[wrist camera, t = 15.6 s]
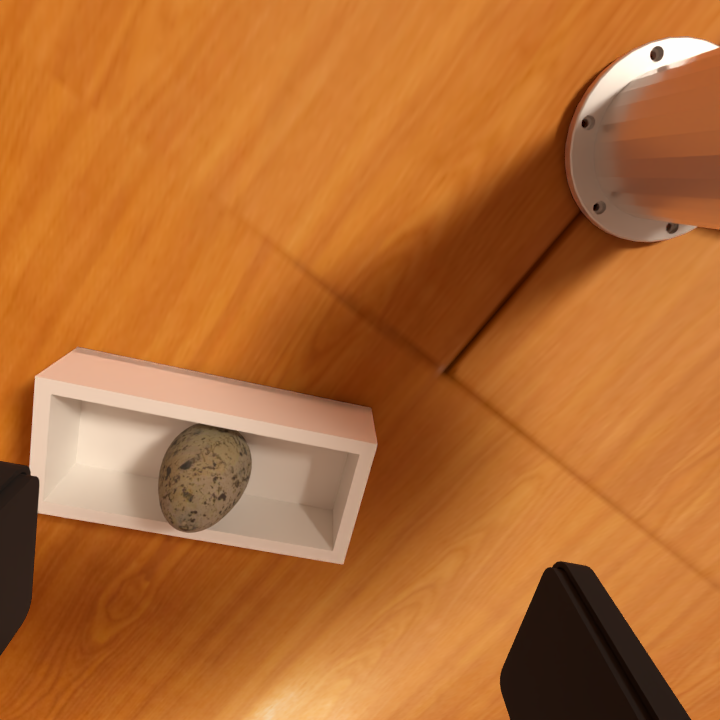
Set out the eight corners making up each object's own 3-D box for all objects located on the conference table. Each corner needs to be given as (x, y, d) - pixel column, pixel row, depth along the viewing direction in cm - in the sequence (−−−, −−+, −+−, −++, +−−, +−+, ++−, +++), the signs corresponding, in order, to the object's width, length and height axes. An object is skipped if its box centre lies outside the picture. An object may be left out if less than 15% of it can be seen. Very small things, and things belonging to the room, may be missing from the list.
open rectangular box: (371, 407, 42) (377, 444, 36) (341, 515, 45) (343, 564, 39) (77, 346, 39) (35, 376, 34) (67, 465, 42) (26, 510, 37)
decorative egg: (272, 432, 41) (255, 509, 32) (231, 488, 43) (203, 578, 33) (203, 391, 40) (164, 459, 30) (163, 451, 41) (114, 534, 32)
